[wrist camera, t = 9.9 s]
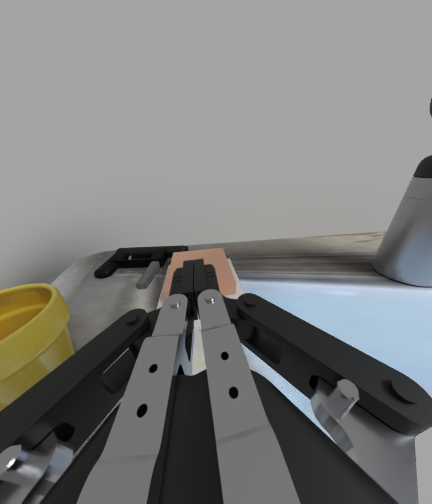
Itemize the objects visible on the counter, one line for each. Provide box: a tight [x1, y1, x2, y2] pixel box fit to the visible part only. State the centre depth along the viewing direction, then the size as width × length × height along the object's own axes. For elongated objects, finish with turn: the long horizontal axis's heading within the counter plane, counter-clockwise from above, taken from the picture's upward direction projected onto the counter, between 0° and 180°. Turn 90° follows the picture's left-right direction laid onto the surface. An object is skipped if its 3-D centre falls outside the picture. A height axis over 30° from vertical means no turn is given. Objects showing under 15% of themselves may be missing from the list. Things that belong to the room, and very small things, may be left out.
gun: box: [94, 246, 188, 289], centre depth 38 cm, size 3×20×16 cm
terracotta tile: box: [164, 247, 236, 299], centre depth 32 cm, size 12×2×14 cm
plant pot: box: [0, 283, 75, 411], centre depth 16 cm, size 10×10×10 cm
